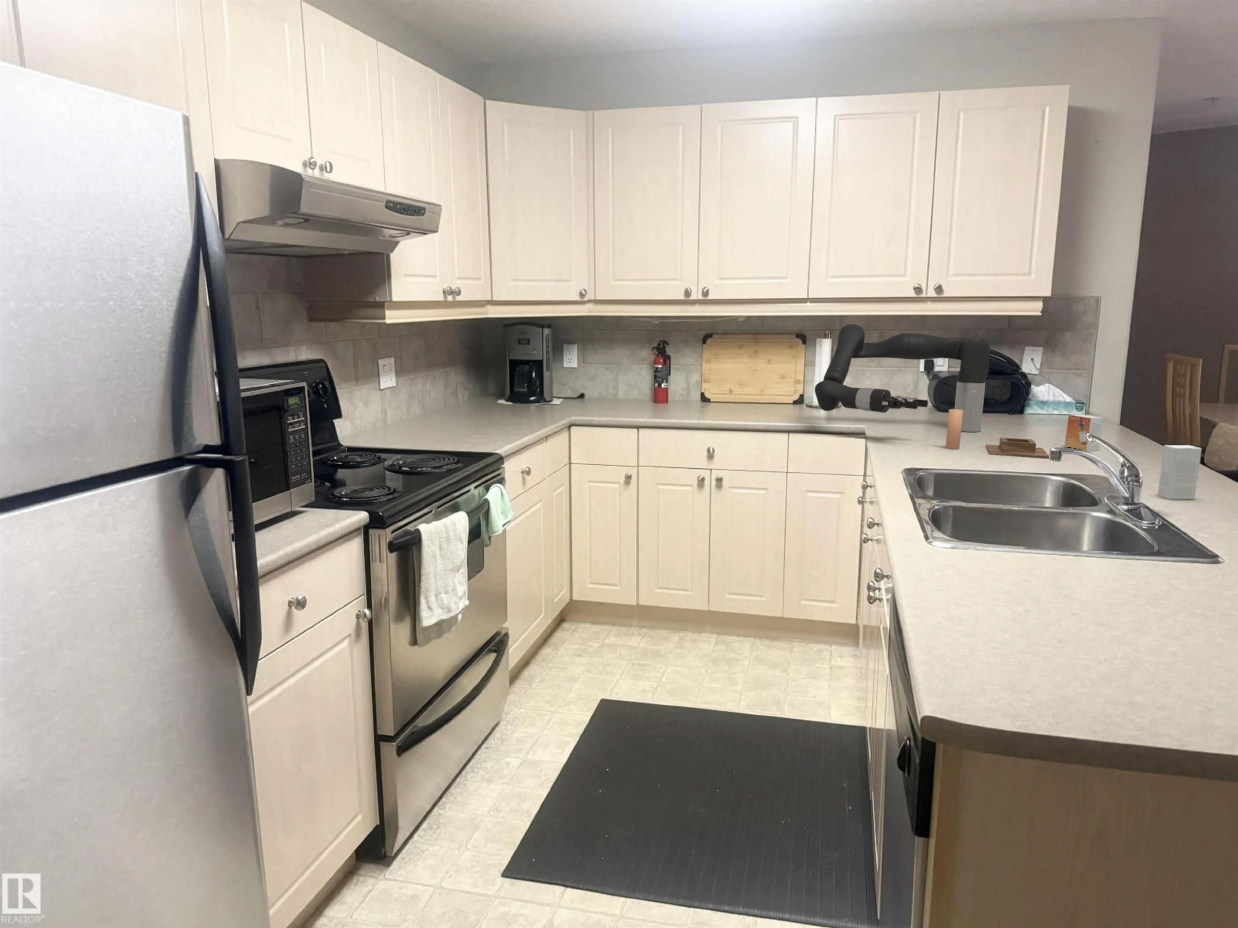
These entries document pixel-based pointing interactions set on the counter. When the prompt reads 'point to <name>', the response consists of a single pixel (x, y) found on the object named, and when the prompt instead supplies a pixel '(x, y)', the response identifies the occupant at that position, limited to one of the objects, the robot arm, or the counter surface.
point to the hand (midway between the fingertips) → (922, 404)
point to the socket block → (1017, 448)
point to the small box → (1083, 431)
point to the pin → (954, 429)
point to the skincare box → (1179, 472)
